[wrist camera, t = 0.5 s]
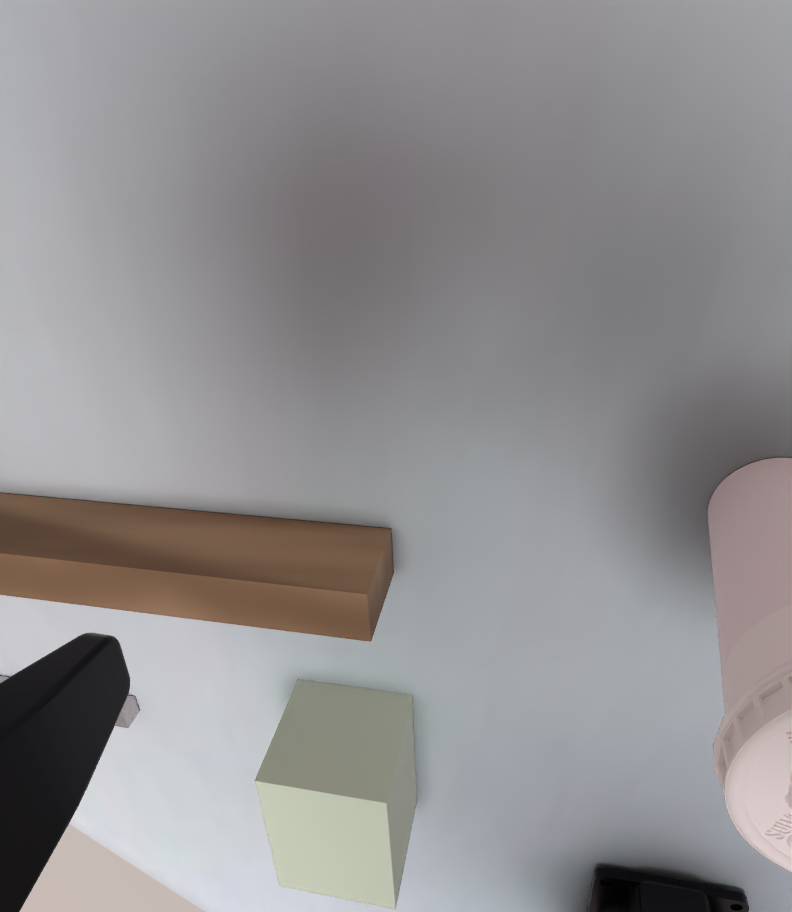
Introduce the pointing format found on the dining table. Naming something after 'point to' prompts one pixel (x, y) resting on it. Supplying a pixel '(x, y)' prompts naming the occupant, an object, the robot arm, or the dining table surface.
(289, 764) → the pale green block
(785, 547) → the smoothie
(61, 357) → the dining table surface
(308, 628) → the long brown board
